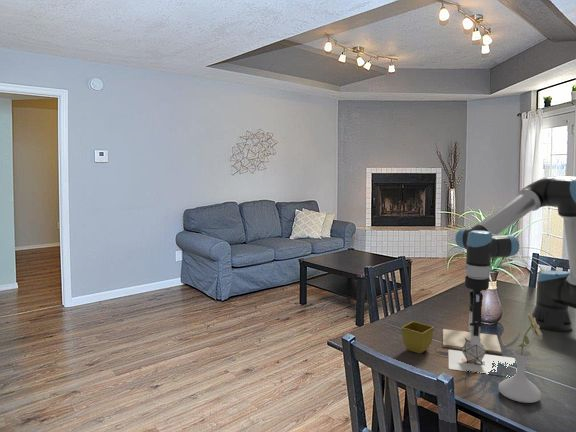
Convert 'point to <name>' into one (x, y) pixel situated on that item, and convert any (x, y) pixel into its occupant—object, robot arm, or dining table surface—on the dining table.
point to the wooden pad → (458, 339)
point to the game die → (473, 351)
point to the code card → (460, 362)
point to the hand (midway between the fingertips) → (473, 336)
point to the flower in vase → (522, 373)
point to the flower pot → (417, 336)
